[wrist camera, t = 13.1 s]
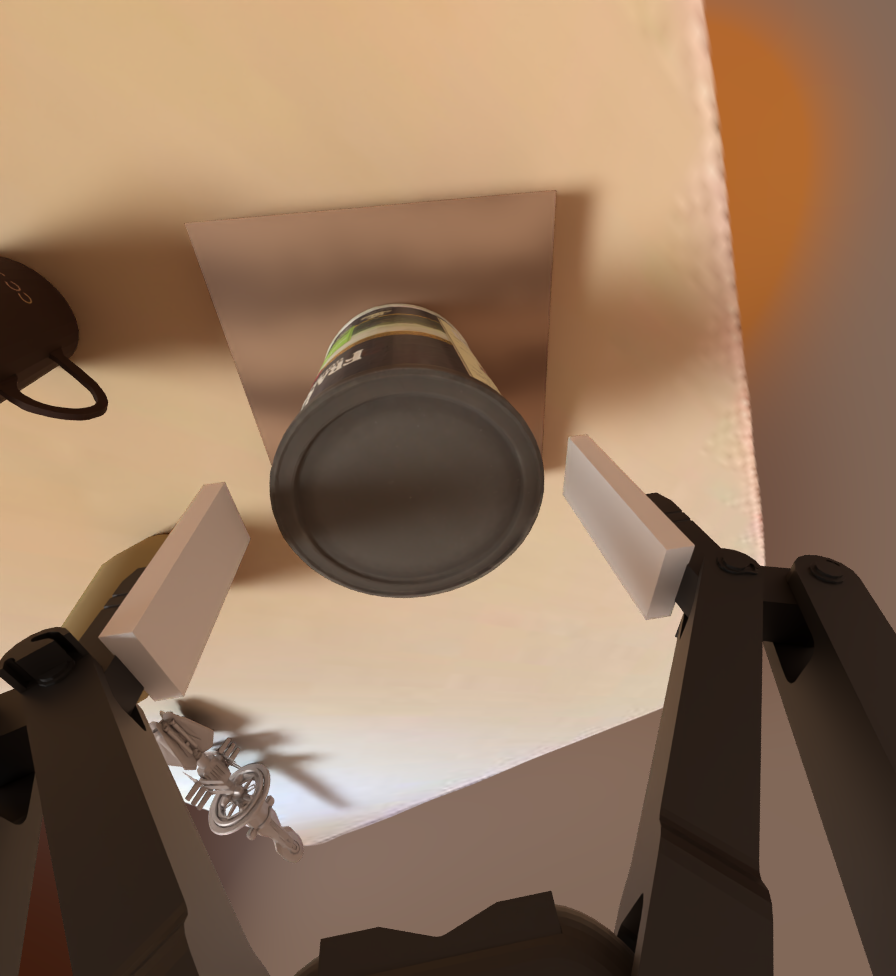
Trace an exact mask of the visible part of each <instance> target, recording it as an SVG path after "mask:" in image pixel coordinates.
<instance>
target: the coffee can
mask: <svg viewBox="0 0 896 976" xmlns="http://www.w3.org/2000/svg"><path fill="white" fill-rule="evenodd" d="M543 493H544V468H543V462H542V457H541V453H540V450H539V447H538V445H537V441H536V439H535V437H534V435H533V433H532V431H531V429H530V428H529V426H528V425H527V423H526V421H525V420H524V418H523V417H522V416H521V414H520V413H519V412H518V411H517V410H516V409H515V408H514V407H513V406H512V405H511V404H510V403H509V402H508V400H507V399H506V398H504V397H503V396H502V395H501V393H500V392H499V390H498V389H497V387H496V386H495V384H494V383H493V382H492V380H491V379H490V378H489V376H488V375H487V373H486V372H485V371H484V369H483V368H482V366H481V365H480V363H479V362H478V360H477V359H476V357H475V356H474V355H473V353H472V352H471V350H470V348H469V346H468V344H467V342H466V341H465V339H464V338H463V337H462V335H461V334H460V333H459V331H458V330H457V329H456V328H455V327H454V326H453V325H452V324H451V323H450V322H448V321H447V320H446V319H445V318H443V317H441V316H440V315H439V314H437V313H435V312H433V311H430V310H428V309H426V308H423V307H420V306H415V305H410V304H387V305H381V306H376V307H373V308H371V309H368V310H366V311H364V312H362V313H360V314H358V315H357V316H355V317H354V318H353V319H351V320H350V321H349V322H348V323H347V324H345V325H344V326H343V327H342V329H341V330H340V331H339V332H338V334H337V335H336V336H335V338H334V339H333V341H332V343H331V344H330V346H329V348H328V351H327V354H326V357H325V360H324V363H323V365H322V367H321V369H320V371H319V373H318V375H317V377H316V379H315V381H314V383H313V384H312V387H311V389H310V391H309V393H308V395H307V398H306V400H305V401H304V403H303V406H302V408H301V409H300V412H299V413H298V414H297V416H296V417H295V418H294V420H293V421H292V422H291V424H290V425H289V427H288V429H287V430H286V432H285V433H284V435H283V437H282V439H281V441H280V443H279V446H278V448H277V451H276V453H275V456H274V460H273V464H272V467H271V471H270V499H271V505H272V510H273V514H274V517H275V519H276V522H277V524H278V527H279V529H280V531H281V533H282V535H283V537H284V539H285V540H286V541H287V543H288V544H289V546H290V547H291V548H292V549H293V551H294V552H295V553H296V554H297V555H298V556H299V557H300V558H301V559H302V560H303V561H304V562H305V563H306V564H307V565H308V566H309V567H311V568H312V569H313V570H315V571H316V572H317V573H319V574H320V575H322V576H324V577H325V578H327V579H329V580H331V581H332V582H334V583H336V584H339V585H342V586H344V587H346V588H349V589H351V590H354V591H357V592H362V593H366V594H369V595H376V596H381V597H392V598H413V597H425V596H430V595H435V594H440V593H444V592H448V591H452V590H454V589H457V588H460V587H462V586H465V585H467V584H469V583H471V582H474V581H476V580H477V579H479V578H481V577H483V576H485V575H486V574H488V573H489V572H491V571H493V570H494V569H495V568H497V567H498V566H499V565H500V564H502V563H503V562H504V561H505V560H506V559H508V557H509V556H511V555H512V554H513V553H514V552H515V551H516V549H517V548H518V547H519V546H520V545H521V544H522V542H523V541H524V540H525V538H526V536H527V535H528V534H529V532H530V530H531V528H532V526H533V524H534V522H535V520H536V518H537V516H538V513H539V510H540V506H541V503H542V498H543Z"/></svg>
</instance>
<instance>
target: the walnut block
mask: <svg viewBox="0 0 896 976" xmlns="http://www.w3.org/2000/svg"><path fill="white" fill-rule="evenodd" d="M555 205H556V190H552V191H540V192H529V193H518V194H506V195H495V196H484V197H473V198H461V199H450V200H439V201H427V202H416V203H405V204H394V205H382V206H371V207H360V208H348V209H337V210H326V211H315V212H303V213H292V214H281V215H270V216H258V217H247V218H236V219H224V220H213V221H202V222H191V223H184V224H185V227H186V230H187V232H188V235H189V238H190V241H191V243H192V246H193V249H194V252H195V254H196V257H197V260H198V263H199V266H200V268H201V271H202V274H203V277H204V279H205V282H206V285H207V288H208V290H209V293H210V296H211V299H212V302H213V304H214V307H215V310H216V313H217V315H218V318H219V321H220V324H221V327H222V329H223V332H224V335H225V338H226V340H227V343H228V346H229V349H230V351H231V354H232V357H233V360H234V363H235V365H236V368H237V371H238V374H239V376H240V379H241V382H242V385H243V387H244V390H245V393H246V396H247V399H248V401H249V404H250V407H251V410H252V412H253V415H254V418H255V421H256V424H257V426H258V429H259V432H260V435H261V437H262V440H263V443H264V446H265V448H266V451H267V454H268V457H269V460H270V462H271V465H272V464H273V460H274V456H275V453H276V451H277V448H278V446H279V443H280V441H281V439H282V437H283V435H284V433H285V432H286V430H287V429H288V427H289V425H290V424H291V422H292V421H293V420H294V418H295V417H296V416H297V414H298V413H299V412H300V409H301V408H302V406H303V403H304V401H305V400H306V398H307V395H308V393H309V391H310V389H311V387H312V384H313V383H314V381H315V379H316V377H317V375H318V373H319V371H320V369H321V367H322V365H323V363H324V360H325V357H326V354H327V351H328V348H329V346H330V344H331V343H332V341H333V339H334V338H335V336H336V335H337V334H338V332H339V331H340V330H341V329H342V327H343V326H344V325H345V324H347V323H348V322H349V321H350V320H351V319H353V318H354V317H355V316H357V315H358V314H360V313H362V312H364V311H366V310H368V309H371V308H373V307H376V306H381V305H387V304H410V305H415V306H420V307H423V308H426V309H428V310H430V311H433V312H435V313H437V314H439V315H440V316H441V317H443V318H445V319H446V320H447V321H448V322H450V323H451V324H452V325H453V326H454V327H455V328H456V329H457V330H458V331H459V333H460V334H461V335H462V337H463V338H464V339H465V341H466V342H467V344H468V346H469V348H470V350H471V352H472V353H473V355H474V356H475V357H476V359H477V360H478V362H479V363H480V365H481V366H482V368H483V369H484V371H485V372H486V373H487V375H488V376H489V378H490V379H491V380H492V382H493V383H494V384H495V386H496V387H497V389H498V390H499V392H500V393H501V395H502V396H503V397H504V398H506V399H507V400H508V402H509V403H510V404H511V405H512V406H513V407H514V408H515V409H516V410H517V411H518V412H519V413H520V414H521V416H522V417H523V418H524V420H525V421H526V423H527V425H528V426H529V428H530V429H531V431H532V433H533V435H534V437H535V439H536V441H537V445H538V447H539V450H540V453H541V457H542V446H543V427H544V409H545V390H546V371H547V353H548V334H549V316H550V297H551V279H552V260H553V242H554V223H555Z"/></svg>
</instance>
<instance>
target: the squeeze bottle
mask: <svg viewBox="0 0 896 976" xmlns="http://www.w3.org/2000/svg"><path fill="white" fill-rule="evenodd" d="M168 536H169V534H160V535H156V536H151V537H148V538H146V539H145V540H143V541H141V542H139V543H137V544H135V545H134V546H132V547H130V548H128V549H126V550H125V551H123V552H121V553H119V554H117V555H116V556H114V557H113V558H111V559H110V560H108V561H107V562H106V563H104V564H103V565H102V566H101V567H100V569H99V570H98V572H97V573H96V575H95V576H94V578H93V580H92V581H91V583H90V584H89V586H88V587H87V589H86V590H85V592H84V593H83V595H82V596H81V598H80V599H79V601H78V602H77V604H76V605H75V607H74V608H73V610H72V611H71V613H70V614H69V616H68V617H67V619H66V620H65V622H64V623H63V625H62V626H61V627H62V628H66V629H67V630H68V631H69V632H70V633H71V634H72V635H73V636H74V637H75V638H76V639H77V640H78V641H79V640H80V638H81V637H82V635H83V634H84V633H85V631H86V630H87V629H88V627H89V626H90V625H91V623H92V622H93V620H94V619H95V618H96V616H97V615H98V614H99V612H100V611H101V610H103V609H104V605H105V604H106V603H107V601H108V600H109V599H110V598H112V595H113V593H114V592H115V590H116V589H117V588H118V586H119V585H120V584H121V582H122V581H123V580H124V579H126V578H127V577H128V576H129V575H130V574H132V573H133V572H134V571H135V570H136V569H138V568H142V567H147V566H148V564H149V563H150V562H151V560H152V559H153V557H154V556H155V554H156V553H157V551H158V550H159V549H160V547H161V546H162V544H163V543H164V541H165V540H166V538H167V537H168ZM147 697H148V693H147V692H146V691H145V690H143V692H142V694H141V696H140V698H139V699H138V701H137V703H139V702H141V701H142V700H144V699H146V698H147Z"/></svg>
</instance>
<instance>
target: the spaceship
mask: <svg viewBox="0 0 896 976" xmlns="http://www.w3.org/2000/svg"><path fill="white" fill-rule="evenodd" d="M160 716H161V717H162V720H161V721H160V722H159V723H158V722H151V723H150V724H149V725H150V727H151V730H152V732H153V734H154V736H155V738H156V741H157V743H158V745H159V747H160V749H161V752H162V754H163V756H164V758H165V760H166V763H167V765H171V766H180V767H183V768H184V770H196V767H197V765H198V766H199V768H198V769H197V772H198V774H199V776H200V777H201V778H200V780H199V781H198V780H196V779H194V778H192V777H190V776H189V775H187V774H186V773H184V772H183V773H184V774H186V775H187V776H189V778H190V779H191V778H192V779H191V780H193V782H194V783H195V784H194V786H193V787H192V789H191V790H190V792H189V793H188V795H187V796H186V798H185V799H186V800H187V801H190V799H191V798H192V797H193V795H194V794H195V792H196V791H197V790H198V788H199V787H201V788H200V790H199V791H198V793H197V794H196V796H195V798H194V799H193V801H192V802H191V804H192V805H194V806H195V805H196V804H197V802H198V801H199V799H200V798H201V797H202V795H203V794H204V792H205V791H207V792H206V793H205V795H204V797H203V798H202V800H201V802H200V803H199V805H198V806H197V809H198V810H201V809H202V808H203V806H204V805H205V803H206V802H207V800H208V799H209V798H210V796H211V795H213V794H216V795H215V797H214V799H213V801H212V804H211V806H210V810H209V817H208V818H209V826H210V829H211V830H212V831H213V832H214V833H215V834H218V835H227V834H231V833H234V832H236V831H238V830H239V829H241V828H242V827H244V826H245V825H246V824H247V825H248V826H249V827H250V829H249V831H248V833H247V835H246V836H247V838H248V839H250V840H254V839H255V837H256V835H257V834H258V835H261V836H265V837H270V838H272V839H273V841H274V844H275V849H276V851H277V853H278V854H280V855H281V856H282V857H283V858H284V860H286V861H288V862H290V863H296V862H299V861H300V859H301V858H302V856H303V852H304V848H303V843H302V840H301V838H300V837H299V835H298V834H297V833H295V831H294V830H293V829H292V828H291V827H289V826H285V827H282V826H281V824H280V822H279V819H278V817H277V814H276V812H275V811H274V810H273V809H272V806H273V804H274V798H273V797H272V796H267V794H268V791H269V787H270V773H269V770H268V769H267V767H266V766H264V765H262V764H249V765H246V766H244V767H242V768H241V767H240V766H239V765H237V764H235V763H236V762H235V761H234V759H235V758H236V756H237V754H238V753H239V751H240V749H239V748H236V749H235V751H234V752H233V753H232V755H231V756H230V758H229V755H230V753H231V752H232V750H233V749H234V747H235V744H234V743H233V742H232V744H231V745H230V746H229V748H228V749H227V750H226V752H225V753H224V754H223V752H224V750H225V749H226V747H227V746H228V744H229V743H230V741H231V739H230V738H227V739H226V740H225V742H224V743H223V744H222V746H221V747H220V748H219V750H218V751H217V750H216V751H213V752H205V751H207V750H208V749H210V748H211V747H212V746H213V734H214V730H212V729H210V728H208V727H206V726H203V725H201V724H199V723H197V722H195V721H192V720H190V719H188V718H186V717H183V716H182V717H180V716H179V715H175V714H173V712H166V713H165V712H163V711H160ZM206 755H208V756H206ZM214 755H216V757H215V756H214ZM227 758H228V759H227ZM225 760H226V761H225ZM234 762H235V763H234ZM232 763H233V764H234V765H233V764H232ZM229 765H231V766H234V767H236V768H238V767H240V768H238V769H239V770H237V771H236V772H235V773H233V774H232V775H231V773H230V770H229V769H228V767H229ZM235 765H236V766H235ZM237 766H238V767H237ZM230 775H231V776H230ZM263 775H264V776H263ZM263 778H264V781H263ZM194 780H195V781H194ZM252 780H254V781H255V784H256V785H254V784H253V785H251V786H254V787H255V791H254V794H252V795H249V794H248V792H249V790H247V788H249V787H248V786H249V785H250V783H251V781H252ZM247 781H248V782H247ZM245 782H247V783H246V785H245V786H244V787H242V786H241V785H242V784H243V783H245ZM263 784H264V786H263ZM203 785H204V786H203ZM251 786H250V787H251ZM254 787H253V789H254ZM213 789H215V790H216V791H213ZM253 789H252V788H251V789H250V791H251V790H253ZM217 790H218V791H217ZM262 790H263V791H262ZM255 792H256V793H255ZM266 797H267V798H266ZM265 799H266V800H265ZM229 802H230V804H229V806H230V805H231V804H233V806H232V808H231V809H230V811H229V814H228V816H226V813H225V811H226V808H227V807H229V806H228V805H227V804H228V803H229ZM231 802H232V803H231ZM226 805H227V806H226ZM236 806H238V807H239V812H238V813H236V814H235V815H233V816H231V815H232V813H233V811H234V810H235V808H236ZM230 816H231V817H230ZM230 825H231V826H230ZM220 826H221V827H220Z"/></svg>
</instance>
